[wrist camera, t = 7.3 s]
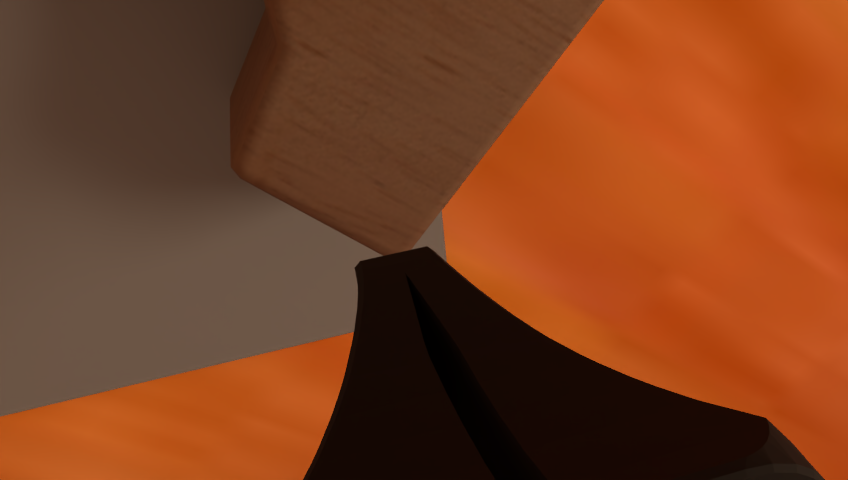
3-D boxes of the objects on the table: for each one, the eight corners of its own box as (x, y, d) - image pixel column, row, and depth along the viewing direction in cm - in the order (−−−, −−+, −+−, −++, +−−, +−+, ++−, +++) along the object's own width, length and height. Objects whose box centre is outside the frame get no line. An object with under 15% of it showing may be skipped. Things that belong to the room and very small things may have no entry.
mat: (-97, 428, 21) (-103, 441, 21) (-463, -75, 13) (-486, -71, 13) (446, 299, 24) (451, 308, 23) (399, -181, 16) (403, -181, 16)
